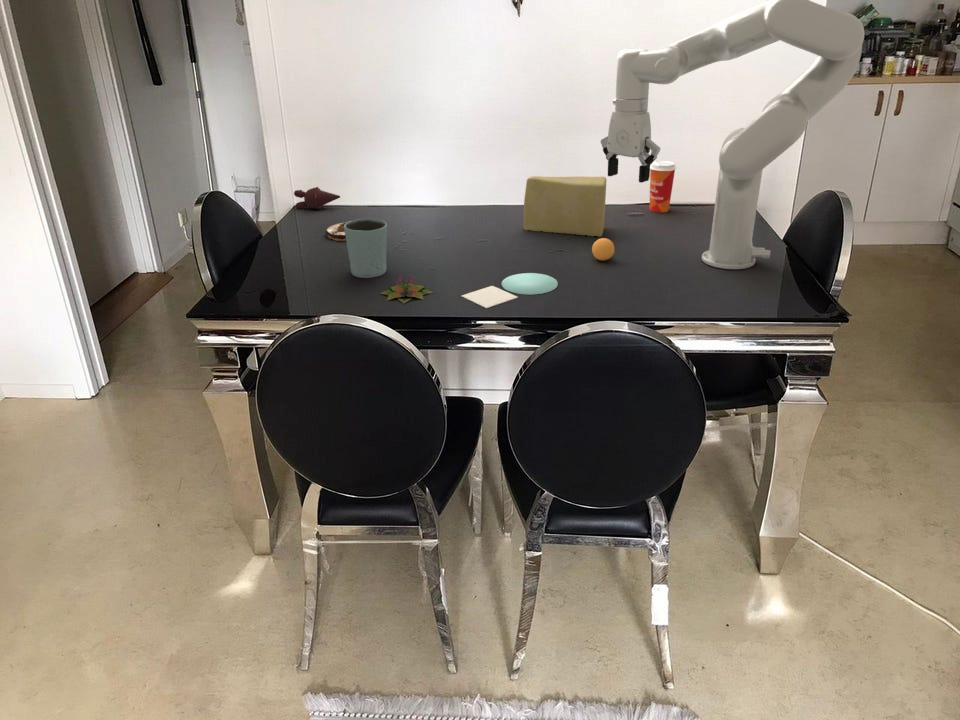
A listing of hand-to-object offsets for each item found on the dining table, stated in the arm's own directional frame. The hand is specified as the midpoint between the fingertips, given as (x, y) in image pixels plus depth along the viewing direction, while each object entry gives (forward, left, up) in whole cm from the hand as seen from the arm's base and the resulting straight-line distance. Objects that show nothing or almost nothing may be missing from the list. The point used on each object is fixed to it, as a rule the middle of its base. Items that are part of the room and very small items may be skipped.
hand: (627, 178), depth 183 cm
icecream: (+97, -20, -19) cm, 101 cm away
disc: (+18, +28, -19) cm, 38 cm away
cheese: (+18, -13, -19) cm, 30 cm away
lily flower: (+44, +40, -20) cm, 62 cm away
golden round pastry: (+76, +3, -20) cm, 79 cm away
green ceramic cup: (+58, +29, -19) cm, 68 cm away
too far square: (+25, +37, -19) cm, 49 cm away
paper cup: (-6, -39, -19) cm, 44 cm away
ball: (+4, +8, -16) cm, 18 cm away
